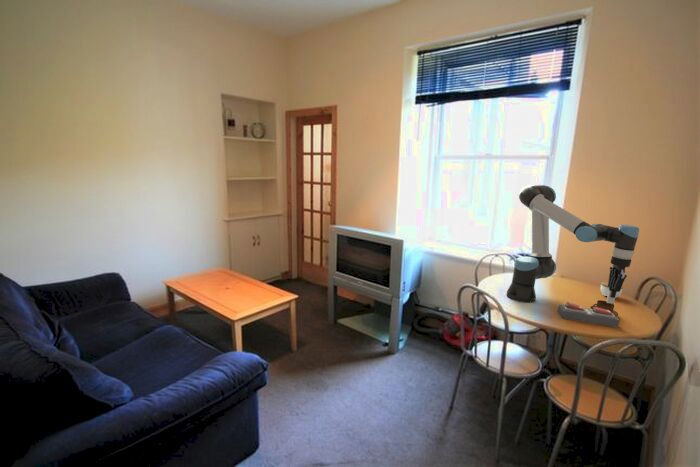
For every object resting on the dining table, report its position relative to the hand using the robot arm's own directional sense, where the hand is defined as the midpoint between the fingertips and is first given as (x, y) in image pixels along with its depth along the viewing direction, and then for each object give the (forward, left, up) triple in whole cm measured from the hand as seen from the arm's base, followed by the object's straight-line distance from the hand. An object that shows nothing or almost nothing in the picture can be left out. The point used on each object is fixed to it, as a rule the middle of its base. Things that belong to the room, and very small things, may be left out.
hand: (609, 302), depth 168 cm
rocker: (-14, 0, -5) cm, 15 cm away
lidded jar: (+17, +44, -11) cm, 49 cm away
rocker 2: (-2, 0, -5) cm, 5 cm away
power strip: (-8, 0, -10) cm, 13 cm away
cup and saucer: (+3, +12, -11) cm, 16 cm away
